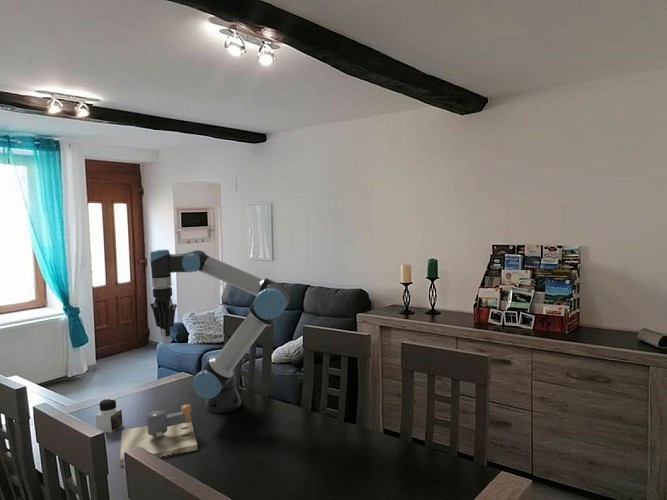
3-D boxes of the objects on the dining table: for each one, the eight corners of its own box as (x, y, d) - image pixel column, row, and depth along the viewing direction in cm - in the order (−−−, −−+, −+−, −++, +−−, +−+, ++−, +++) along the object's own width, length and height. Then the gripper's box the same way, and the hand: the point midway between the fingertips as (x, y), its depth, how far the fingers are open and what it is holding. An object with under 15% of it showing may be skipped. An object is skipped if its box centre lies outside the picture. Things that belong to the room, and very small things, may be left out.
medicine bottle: (112, 433, 200) (109, 403, 199) (96, 432, 202) (93, 403, 200) (123, 425, 207) (120, 397, 206) (107, 424, 208) (105, 396, 207)
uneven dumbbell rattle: (194, 427, 191) (193, 409, 191) (149, 438, 184) (148, 419, 183) (189, 418, 200) (188, 401, 199) (146, 428, 192) (144, 410, 192)
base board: (190, 422, 207) (190, 413, 207) (197, 449, 183) (196, 439, 182) (122, 435, 198) (121, 425, 197) (120, 465, 173) (119, 454, 173)
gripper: (143, 288, 206) (148, 344, 208) (166, 289, 200) (170, 347, 202) (158, 285, 213) (162, 340, 215) (180, 286, 206) (184, 342, 208)
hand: (166, 343), depth 208 cm, fingers closed
